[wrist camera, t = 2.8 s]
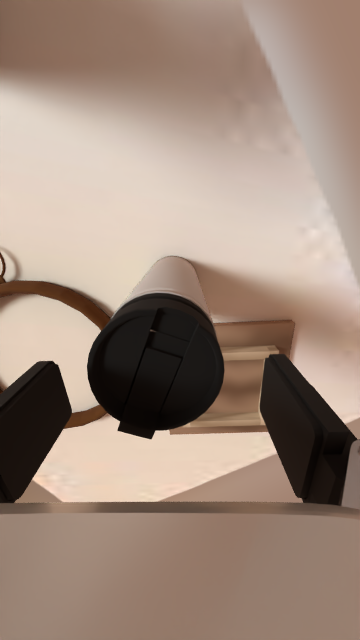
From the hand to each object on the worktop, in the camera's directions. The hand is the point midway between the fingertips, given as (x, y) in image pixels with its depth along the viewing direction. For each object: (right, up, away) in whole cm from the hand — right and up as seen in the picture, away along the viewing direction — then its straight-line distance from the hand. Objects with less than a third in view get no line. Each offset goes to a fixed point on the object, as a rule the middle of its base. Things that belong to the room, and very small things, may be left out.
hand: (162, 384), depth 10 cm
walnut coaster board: (+8, -7, +24) cm, 26 cm away
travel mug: (0, +8, +18) cm, 20 cm away
